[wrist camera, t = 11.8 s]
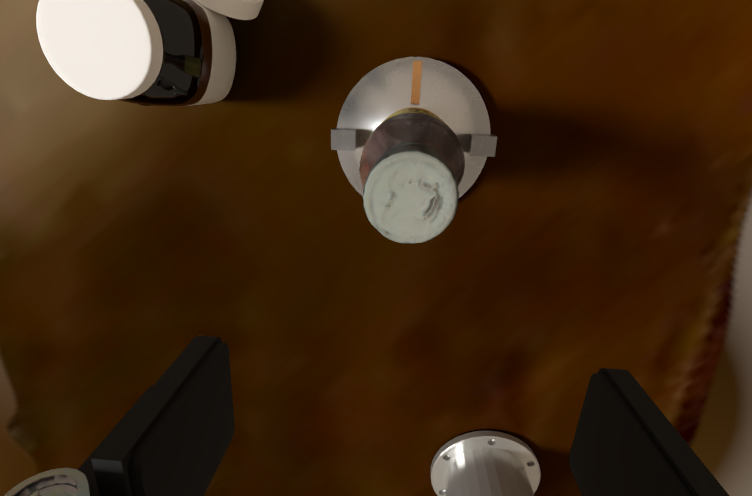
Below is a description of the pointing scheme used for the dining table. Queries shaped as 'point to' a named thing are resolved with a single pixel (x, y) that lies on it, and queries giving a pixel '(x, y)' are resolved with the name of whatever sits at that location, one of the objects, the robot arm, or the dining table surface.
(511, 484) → the robot arm
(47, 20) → the spread jar
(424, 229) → the sauce bottle
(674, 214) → the dining table surface
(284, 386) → the dining table surface
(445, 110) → the base
